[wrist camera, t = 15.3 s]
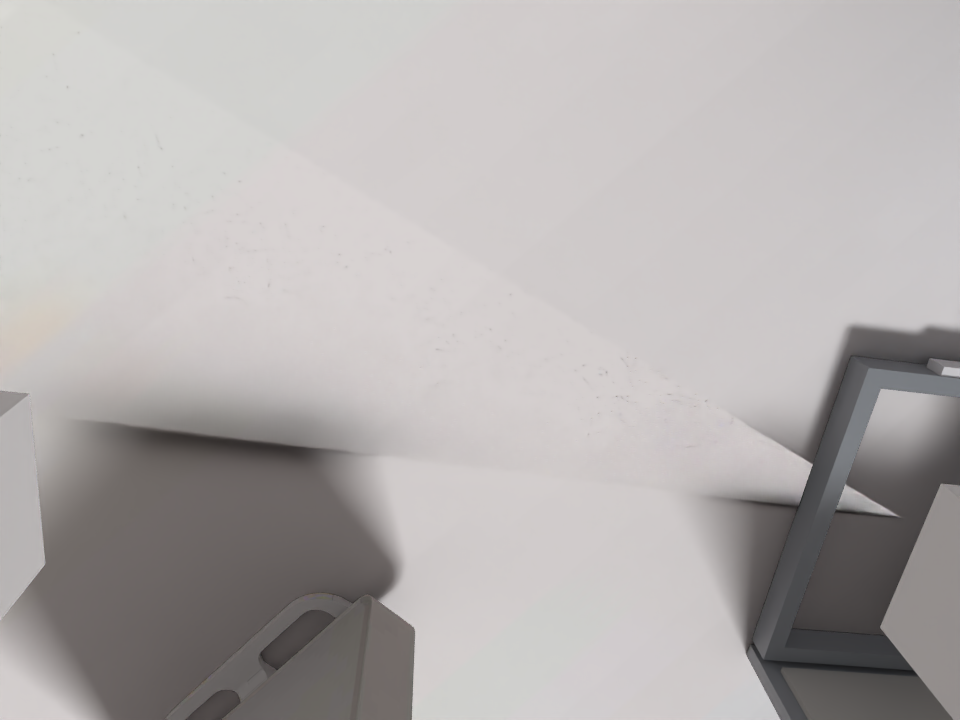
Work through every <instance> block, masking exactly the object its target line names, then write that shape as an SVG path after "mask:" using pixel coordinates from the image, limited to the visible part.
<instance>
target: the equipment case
mask: <svg viewBox="0 0 960 720" xmlns="http://www.w3.org/2000/svg"><path fill="white" fill-rule="evenodd" d="M880 389H890V390H898V391H907V392H916V393H925V394H934V395H942V396H951V397H960V362H957V361H949V360H941V359H932V358H930V359H929V361H928V364H927V365H924V364H916V363H908V362H899V361H891V360H882V359H874V358H865V357H857V356H851V358H850V360H849V363H848V366H847V369H846V372H845V375H844V378H843V380H842V383H841V386H840V389H839V392H838V395H837V398H836V400H835V403H834V406H833V409H832V412H831V415H830V418H829V420H828V423H827V426H826V429H825V432H824V435H823V438H822V440H821V443H820V446H819V449H818V452H817V455H816V458H815V460H814V463H813V466H812V469H811V472H810V475H809V478H808V481H807V483H806V486H805V489H804V492H803V495H802V498H801V501H800V503H799V506H798V509H797V512H796V515H795V518H794V521H793V523H792V526H791V529H790V532H789V535H788V538H787V541H786V543H785V546H784V549H783V552H782V555H781V558H780V561H779V563H778V566H777V569H776V572H775V575H774V578H773V581H772V583H771V586H770V589H769V592H768V595H767V598H766V601H765V603H764V606H763V609H762V612H761V615H760V618H759V621H758V623H757V626H756V629H755V632H754V635H753V638H752V640H753V642H754V644H755V645H750V646H749V649H748V652H747V657H748V659H749V661H750V663H751V665H752V666H753V668H754V670H755V672H756V674H757V676H758V678H759V680H760V682H761V683H762V685H763V687H764V689H765V691H766V693H767V695H768V697H769V699H770V700H771V702H772V704H773V706H774V708H775V710H776V712H777V714H778V715H779V717H780V719H781V720H953V719H952V717H951V716H950V715H949V714H948V712H947V711H946V710H945V709H944V707H943V706H942V705H941V704H940V702H939V701H938V700H937V698H936V697H935V696H934V695H933V693H932V692H931V691H930V690H929V688H928V687H927V686H926V685H925V683H924V682H923V681H922V680H921V678H920V677H919V676H918V675H917V673H916V672H915V671H914V670H913V668H912V667H911V666H910V665H909V663H908V662H907V661H906V660H905V658H904V657H903V656H902V655H901V653H900V652H899V651H898V650H897V648H896V647H895V646H894V644H893V643H892V642H891V641H890V639H889V638H888V637H887V636H879V635H866V634H853V633H840V632H827V631H814V630H800V629H792V626H793V623H794V621H795V618H796V615H797V613H798V610H799V607H800V604H801V602H802V599H803V596H804V594H805V591H806V588H807V586H808V583H809V580H810V578H811V575H812V572H813V570H814V567H815V564H816V561H817V559H818V556H819V553H820V551H821V548H822V545H823V543H824V540H825V537H826V535H827V532H828V529H829V526H830V524H831V521H832V518H833V516H834V513H835V510H836V508H837V505H838V502H839V500H840V497H841V494H842V492H843V489H844V486H845V483H846V481H847V478H848V475H849V473H850V470H851V467H852V465H853V462H854V459H855V457H856V454H857V451H858V449H859V446H860V443H861V440H862V438H863V435H864V432H865V430H866V427H867V424H868V422H869V419H870V416H871V414H872V411H873V408H874V406H875V403H876V400H877V397H878V395H879V392H880Z"/></svg>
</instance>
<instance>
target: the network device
mask: <svg viewBox="0 0 960 720" xmlns="http://www.w3.org/2000/svg"><path fill="white" fill-rule="evenodd" d="M310 610H322V611H325V612H327V613H329V614H330V615H332V616H333V617H334V618H336V619H335V620H334V621H333V622H332V623H330V624H329V625H328V626H327V627H326V628H325V629H324V630H323V631H321V632H320V633H319V634H318V635H317V636H316V637H315V638H313V639H312V640H311V641H310V642H309V643H308V644H307V645H306V646H304V647H303V648H302V649H301V650H300V651H299V652H298V653H296V654H295V655H294V656H293V657H292V658H291V659H290V660H288V661H287V662H286V663H285V664H284V665H283V666H282V667H281V668H279V669H278V670H276V669H275V668H273V667H272V666H270V665H269V664H267V663H266V662H265V661H264V660H263V659H262V657H261V654H260V652H261V651H262V650H263V649H264V648H266V647H267V646H268V645H269V644H270V643H271V642H272V641H273V640H274V639H276V638H277V637H278V636H279V635H280V634H281V633H282V632H283V631H285V630H286V629H287V628H288V627H289V626H290V625H291V624H292V623H293V622H295V621H296V620H297V619H298V618H299V617H300V616H301V615H302V614H304V613H305V612H307V611H310ZM414 644H415V630H414V628H413V627H412V626H411V625H410V624H408V623H407V622H406V621H404V620H403V619H402V618H400V617H399V616H398V615H396V614H395V613H394V612H392V611H391V610H389V609H388V608H387V607H385V606H384V605H383V604H381V603H380V602H379V601H377V600H376V599H375V598H373V597H372V596H371V595H364V596H362V597H360V598H359V599H358V600H357V601H355V602H354V603H353V604H352V603H350V602H349V601H347V600H346V599H344V598H342V597H339V596H337V595H334V594H328V593H312V594H308V595H304V596H302V597H299V598H297V599H295V600H294V601H293V602H291V603H290V604H289V605H288V606H286V607H285V608H284V609H283V610H282V611H281V612H280V613H279V614H278V615H277V616H275V617H274V618H273V619H272V620H271V621H270V622H269V623H268V624H267V625H266V626H264V627H263V628H262V629H261V630H260V631H259V632H258V633H257V634H256V635H255V636H253V637H252V638H251V639H250V640H249V641H248V642H247V643H246V644H245V645H243V646H242V647H241V648H240V649H239V650H238V651H237V652H236V653H235V654H234V655H232V656H231V657H230V658H229V659H228V660H227V661H226V662H225V663H224V664H223V665H221V666H220V667H219V668H218V669H217V670H216V671H215V672H214V673H213V674H212V675H210V676H209V677H208V678H207V679H206V680H205V681H204V682H203V683H202V684H200V685H199V686H198V687H197V688H196V689H195V690H194V691H193V692H192V693H191V694H189V695H188V696H187V697H186V698H185V699H184V700H183V701H182V702H181V703H180V704H178V705H177V706H176V707H175V708H174V709H173V710H172V711H171V712H170V713H169V714H168V715H167V717H166V720H185V719H186V718H187V717H189V716H190V715H191V714H192V713H193V712H194V711H195V710H196V709H198V708H199V707H200V706H201V705H202V704H203V703H204V702H205V701H206V700H208V699H209V698H210V697H211V696H212V695H213V694H214V693H216V692H218V691H221V690H232V691H235V692H236V693H237V694H238V695H239V698H240V704H239V705H237V706H236V707H235V708H234V709H233V710H232V711H231V712H229V713H228V714H227V715H226V716H225V717H224V718H223V719H221V720H412V696H413V670H414Z"/></svg>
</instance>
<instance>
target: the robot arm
mask: <svg viewBox="0 0 960 720" xmlns="http://www.w3.org/2000/svg"><path fill="white" fill-rule="evenodd" d="M44 565H45V554H44V543H43V532H42V521H41V510H40V500H39V489H38V478H37V467H36V456H35V446H34V435H33V424H32V413H31V403H30V394H27V393H17V392H7V391H0V621H1V620H2V618H3V617H4V616H5V615H6V613H7V612H8V611H9V610H10V608H11V607H12V606H13V604H14V603H15V602H16V601H17V599H18V598H19V597H20V596H21V594H22V593H23V592H24V591H25V589H26V588H27V587H28V586H29V584H30V583H31V582H32V580H33V579H34V578H35V577H36V575H37V574H38V573H39V572H40V570H41V569H42V568H43V567H44ZM880 628H881V629H882V631H883V632H884V633H885V634H886V636H887V637H888V638H889V639H890V641H891V642H892V643H893V644H894V646H895V647H896V648H897V650H898V651H899V652H900V653H901V655H902V656H903V657H904V658H905V660H906V661H907V662H908V663H909V665H910V666H911V667H912V668H913V670H914V671H915V672H916V673H917V675H918V676H919V677H920V678H921V680H922V681H923V682H924V683H925V685H926V686H927V687H928V688H929V690H930V691H931V692H932V693H933V695H934V696H935V697H936V698H937V700H938V701H939V702H940V704H941V705H942V706H943V707H944V709H945V710H946V711H947V712H948V714H949V715H950V716H951V717H952V719H953V720H960V485H951V484H941V485H940V487H939V490H938V492H937V494H936V497H935V499H934V501H933V504H932V506H931V508H930V511H929V513H928V515H927V518H926V520H925V522H924V525H923V527H922V530H921V532H920V534H919V537H918V539H917V541H916V544H915V546H914V548H913V551H912V553H911V555H910V558H909V560H908V563H907V565H906V567H905V570H904V572H903V574H902V577H901V579H900V581H899V584H898V586H897V588H896V591H895V593H894V596H893V598H892V600H891V603H890V605H889V607H888V610H887V612H886V614H885V617H884V619H883V621H882V624H881V626H880Z"/></svg>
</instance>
